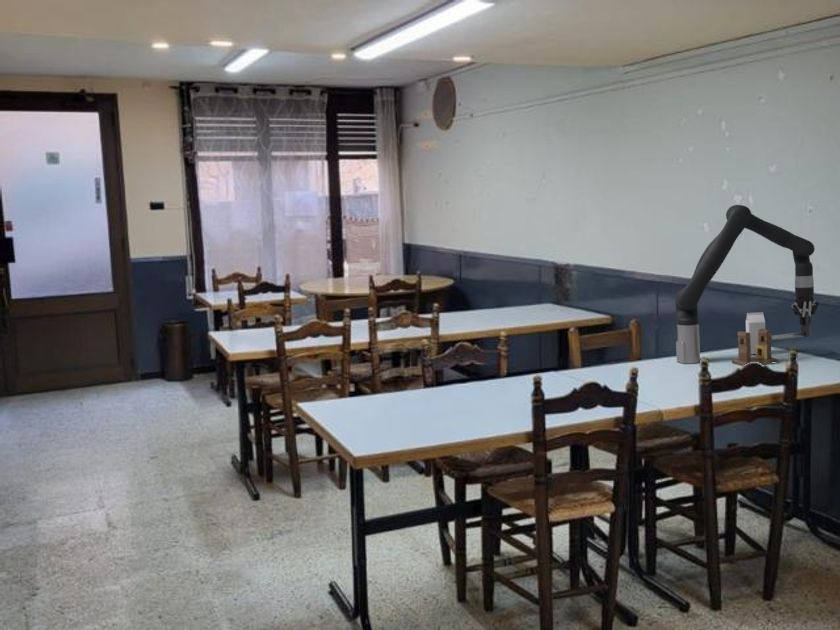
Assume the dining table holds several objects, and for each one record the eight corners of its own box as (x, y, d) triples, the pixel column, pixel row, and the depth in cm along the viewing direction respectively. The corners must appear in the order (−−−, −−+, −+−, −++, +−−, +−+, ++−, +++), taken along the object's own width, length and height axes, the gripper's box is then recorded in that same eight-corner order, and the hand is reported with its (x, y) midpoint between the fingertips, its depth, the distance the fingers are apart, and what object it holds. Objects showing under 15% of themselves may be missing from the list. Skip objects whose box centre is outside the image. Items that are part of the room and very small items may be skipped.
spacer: (764, 359, 363) (763, 346, 362) (755, 357, 369) (755, 344, 368) (767, 359, 363) (766, 345, 363) (758, 357, 369) (758, 343, 368)
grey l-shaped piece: (767, 341, 364) (767, 318, 363) (763, 340, 367) (762, 318, 366) (809, 336, 369) (808, 313, 367) (804, 335, 371) (804, 313, 370)
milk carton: (766, 354, 382) (765, 313, 379) (749, 355, 383) (748, 314, 381) (762, 351, 389) (761, 311, 386) (746, 352, 390) (745, 312, 388)
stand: (745, 366, 359) (744, 334, 357) (732, 363, 369) (730, 331, 367) (778, 362, 362) (777, 330, 361) (764, 359, 372) (763, 327, 370)
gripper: (796, 288, 362) (797, 327, 364) (823, 285, 365) (824, 324, 367) (784, 286, 369) (785, 325, 371) (812, 283, 372) (812, 322, 374)
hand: (805, 324), depth 369 cm, fingers closed on grey l-shaped piece
